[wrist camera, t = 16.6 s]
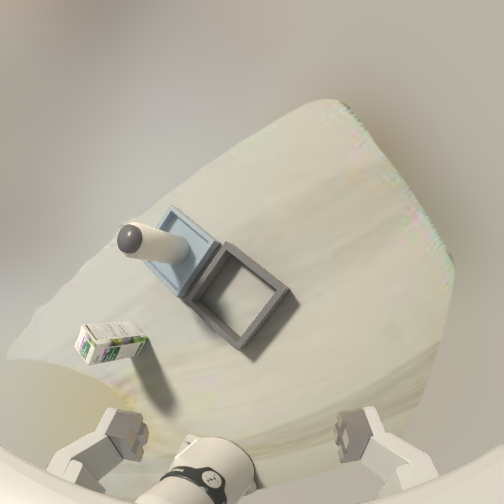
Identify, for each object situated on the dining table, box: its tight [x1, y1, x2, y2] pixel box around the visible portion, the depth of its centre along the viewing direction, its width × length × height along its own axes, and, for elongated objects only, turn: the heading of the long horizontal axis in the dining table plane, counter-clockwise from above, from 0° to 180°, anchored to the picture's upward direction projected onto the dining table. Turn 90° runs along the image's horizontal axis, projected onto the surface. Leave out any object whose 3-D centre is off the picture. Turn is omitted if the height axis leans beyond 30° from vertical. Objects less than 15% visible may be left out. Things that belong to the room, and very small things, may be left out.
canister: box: [117, 222, 190, 265], centre depth 47 cm, size 6×6×14 cm
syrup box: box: [75, 321, 147, 365], centre depth 49 cm, size 6×6×14 cm
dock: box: [185, 241, 289, 350], centre depth 48 cm, size 13×13×3 cm
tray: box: [141, 205, 220, 297], centre depth 53 cm, size 13×13×2 cm
